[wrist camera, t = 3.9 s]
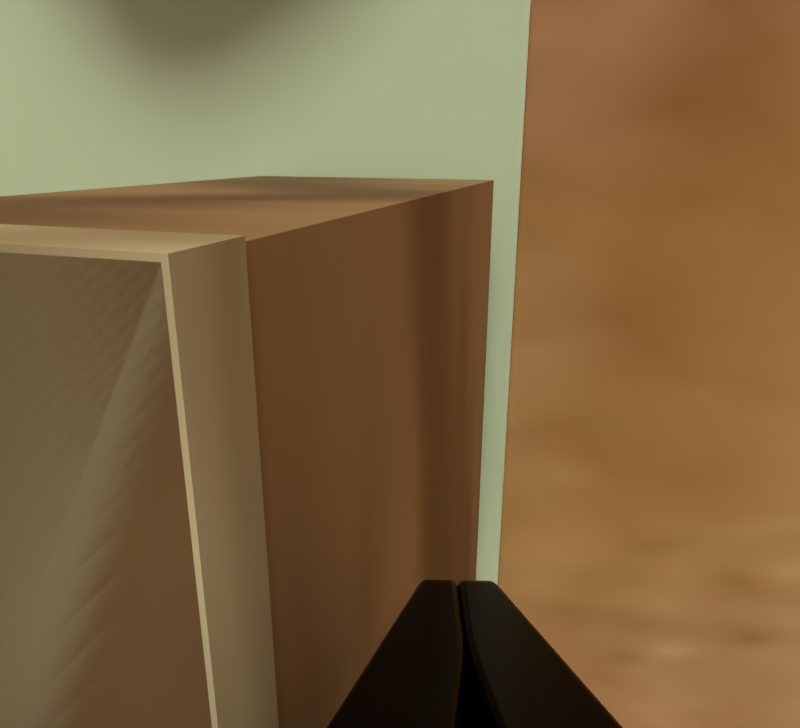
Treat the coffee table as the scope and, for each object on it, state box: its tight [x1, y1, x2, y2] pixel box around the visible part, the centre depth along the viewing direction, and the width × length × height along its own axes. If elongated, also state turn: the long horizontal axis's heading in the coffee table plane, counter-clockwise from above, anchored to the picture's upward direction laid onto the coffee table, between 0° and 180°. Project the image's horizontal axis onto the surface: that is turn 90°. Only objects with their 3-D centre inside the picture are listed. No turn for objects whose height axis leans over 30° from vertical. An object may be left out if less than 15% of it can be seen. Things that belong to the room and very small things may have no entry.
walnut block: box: [0, 176, 494, 728], centre depth 10 cm, size 5×9×10 cm, turn 179°
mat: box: [0, 0, 531, 584], centre depth 16 cm, size 18×16×1 cm
